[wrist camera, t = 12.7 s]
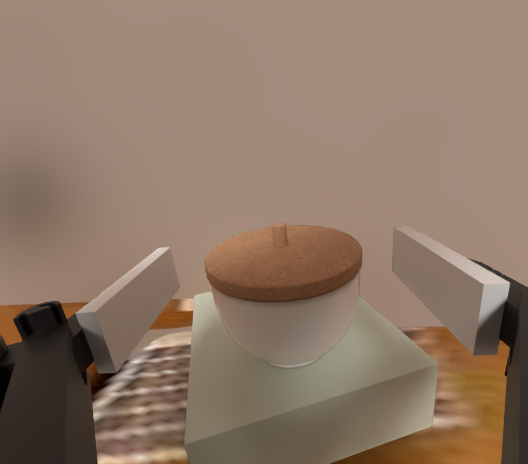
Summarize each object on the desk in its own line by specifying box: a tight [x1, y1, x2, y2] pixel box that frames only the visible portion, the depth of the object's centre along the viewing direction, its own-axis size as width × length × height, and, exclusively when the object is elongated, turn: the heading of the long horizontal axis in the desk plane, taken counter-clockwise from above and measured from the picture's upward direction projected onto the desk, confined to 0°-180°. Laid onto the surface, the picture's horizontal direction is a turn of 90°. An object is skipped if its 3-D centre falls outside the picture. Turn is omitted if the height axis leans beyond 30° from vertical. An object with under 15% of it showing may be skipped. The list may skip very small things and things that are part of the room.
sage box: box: [184, 292, 439, 464], centre depth 23 cm, size 16×16×6 cm
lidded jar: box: [205, 223, 362, 368], centre depth 19 cm, size 11×11×9 cm
